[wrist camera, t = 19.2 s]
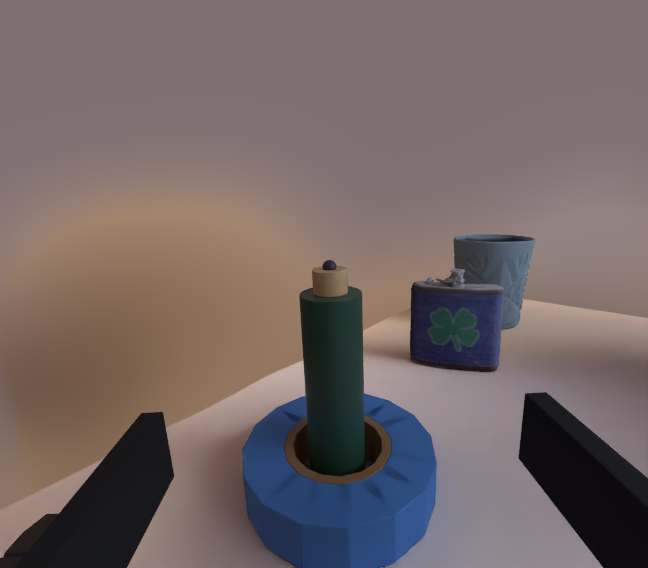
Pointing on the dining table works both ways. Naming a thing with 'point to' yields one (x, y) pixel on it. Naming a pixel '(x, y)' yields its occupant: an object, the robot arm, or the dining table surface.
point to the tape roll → (340, 490)
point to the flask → (456, 323)
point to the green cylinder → (333, 372)
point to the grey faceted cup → (497, 267)
